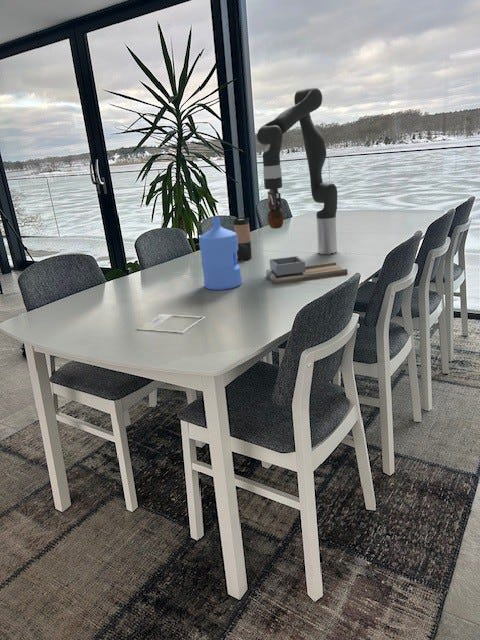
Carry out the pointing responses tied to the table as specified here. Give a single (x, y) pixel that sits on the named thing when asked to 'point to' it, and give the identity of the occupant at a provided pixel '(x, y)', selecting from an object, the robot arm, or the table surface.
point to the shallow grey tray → (287, 266)
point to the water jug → (220, 257)
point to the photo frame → (167, 316)
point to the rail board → (309, 273)
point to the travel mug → (243, 238)
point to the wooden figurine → (272, 220)
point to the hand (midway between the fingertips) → (275, 216)
